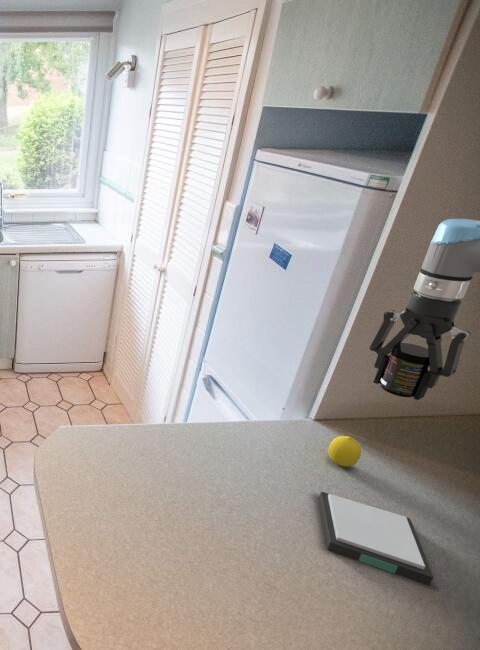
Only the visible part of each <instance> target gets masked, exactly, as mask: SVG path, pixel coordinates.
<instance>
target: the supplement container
mask: <svg viewBox="0 0 480 650" xmlns="http://www.w3.org/2000/svg"><path fill="white" fill-rule="evenodd" d="M389 356H390V357H389V359H388V362H387V365H386V367H385V370H384V372H383V375H382V377H381V380H380V383H379V386H380V388H381V389H382V390H383V391H385V392H386V393H389V394H391V395H394V396H396V397H401V398H414V396H415V394H416V391H417V389H418V387H419V384H420V382H421V380H422V377H423V375H424V373H425V372H427V371H429V370H430V366H429V358H430V357H429V353H428V347H425V346H422V345H418V344H413V343H407V342H401V343H400V344H398V345H395V346H393V349H392V351H391V353H390V354H389Z"/></svg>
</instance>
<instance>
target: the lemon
mask: <svg viewBox="0 0 480 650" xmlns="http://www.w3.org/2000/svg"><path fill="white" fill-rule="evenodd" d="M327 452H328V456H329V458H330V460H331V461H332V462H333V463H335V464H336V465H338V466H341V467H351V466H354V465H356V464H357V463H358V462H359V460H360V459H361V456H362V448H361V445H360V443H359V442H358V441H357V440H356V439H354V438H353V437H351V436H347V435H339V436H337V437H335V438H333V440H332V441H331V442H330V444H329V446H328V450H327Z"/></svg>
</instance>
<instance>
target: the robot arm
mask: <svg viewBox="0 0 480 650" xmlns="http://www.w3.org/2000/svg"><path fill="white" fill-rule="evenodd" d="M475 273H480V220H475V219H469V218H449V219H445V220H443V221H441V222H440V223H439V224H438V226H437V228H436V231H435V233H434V235H433V236H432V239H431V241H430V244H429V246H428V249H427V252H426V254H425V257H424V260H423V262H422V265H421V268H420V271H419V272H418V275H417V278H416V280H415V284H414V286H413V290H414V291H412V292H411V293H410V295H409V299H408V300H407V303H406V306H405V309H404V310H402V311H395V310H394V309H391V310H388V311H385V312H383V321H382V323H381V325H380V327H379V329H378V331H377V333H376V335H375V336H374V339H373V340H372V342H371V344H370V346H369V350H370V351H372V352H374V353H376V354H377V357H376V360H375V363H374V365H373V366H374V368H375V369H377V372H376V374H375V377H374V379H373V381H372V382H373V383H374V384H376V385H379V384H380V380H381V377H382V375H383V372H384V370H385V367H386V365H387V362H388V359H389V357H390V354H391V351H392V349H393V346H395V345H398V344H400V343H403V342H404V341H405V340H406V339H407V338H408V337H409V336H410V335H412V336H419V337H420V338H423V339H425V343H426V344H427V349H428V353H429V357H430V358H429V366H430V368H429V370H428V371H427V372H425V373H424V375H423V377H422V380H421V382H420V384H419V387H418V389H417V391H416V394H415V396H414V397H412V399H414V400H416V401H419V400H421V399H423V398H424V397H425V396H426V393H427V391H428V389H432V388H434V387H436V386H437V384H438V383H439V381H440V380H439V379H440V378H441V376H442V377H445V378H448V377H451V376H453V375H455V374H456V372H457V369H458V366H459V362H460V360H461V359H460V358H461V355H462V351H463V348H464V345H465V342H466V341H467V340H468V338H470V337H471V335H472V332H471V331H469V330H462V329H460V328H458V327H456V326H455V322H454V321H455V318H456V315H457V314H458V312H459V309H460V306H461V304H462V301H461V299H463V298H464V297H465V296H466V293H467V290H468V288H469V286H470V283H471V281H472V279H473V278H474V277H473V276H474V275H475ZM399 320H401V322H402V324H403V326H404V327H402V328H401V329H400V330H399V331H398V333H397V334H396V335H395V336H394V337H393V338H391V340H390V341H389V342H388V343H386V344H385V345H384V343H385V341H386V339H387V338H388V336H389V334H390V332H391V331H392V329H393V327H394V325H395V323H396V322H397V321H399ZM446 333H450V339H452V340H451V341H450V344H449V347H448V350H447V354H446V358H445V362H444V364H443V351H442V341H443V337H442V335H444V334H446ZM383 345H384V346H383Z"/></svg>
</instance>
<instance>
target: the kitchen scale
mask: <svg viewBox="0 0 480 650" xmlns="http://www.w3.org/2000/svg"><path fill="white" fill-rule="evenodd" d="M317 498H318V502H319V503H318V504H319V510H320V515H321V521H322V527H323V533H324V539H325V545H326V550H327V551H330V552H333V553H336V554H339V555H342V556H344V557H347V558H350V559H352V560H356V561H358V562H361V563H363V564H366V565H368V566H372V567H375V568H377V569H381V570H383V571H387V572H389V573H392V574H396V575H399V576H402V577H405V578H407V579H411V580H413V581H416V582H419V583H422V584H425V585H427V586H430V584H431V582H432V581H433V579H434V576H433V574H432V570H431V568H430V565H429V563H428V560H427V558H426V555H425V553H424V550H423V548H422V545H421V543H420V540H419V537H418V535H417V533H416V530H415V527H414V525H413V522H412V519H411V518H410V517H407V516H404V515H401V514H398V513H394V512H392V511H388V510H385V509H381V508H378V507H374V506H372V505H368V504H365V503H362V502H358V501H355V500H352V499H348V498H345V497H341V496H338V495H335V494H332V493H327V492H325V491H320V494H319V495H318V497H317Z"/></svg>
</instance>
